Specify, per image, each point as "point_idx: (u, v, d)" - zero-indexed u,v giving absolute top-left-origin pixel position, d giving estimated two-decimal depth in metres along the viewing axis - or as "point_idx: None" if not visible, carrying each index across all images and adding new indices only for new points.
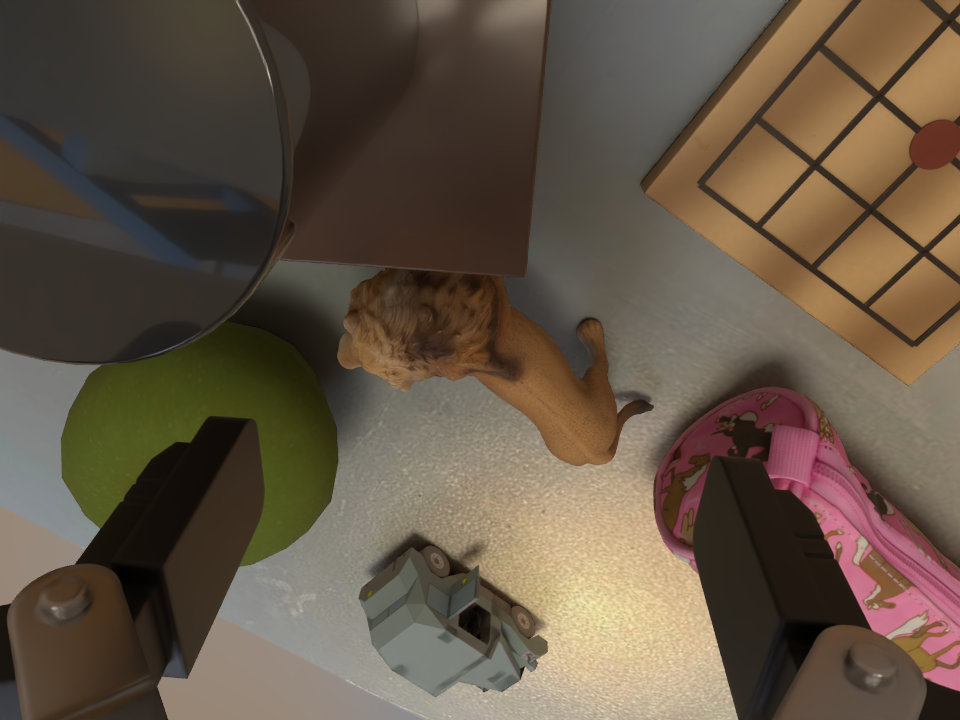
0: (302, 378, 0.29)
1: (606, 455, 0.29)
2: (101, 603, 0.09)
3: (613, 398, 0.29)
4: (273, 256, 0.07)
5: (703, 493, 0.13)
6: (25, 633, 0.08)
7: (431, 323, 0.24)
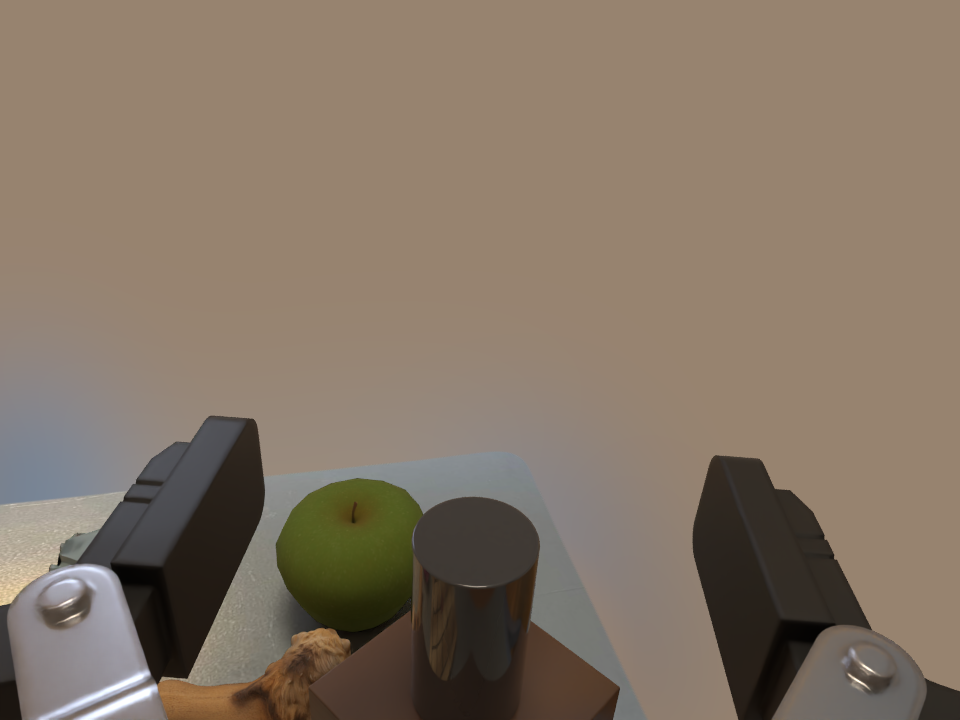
0: (339, 612, 0.47)
1: None
2: (101, 603, 0.09)
3: None
4: (414, 554, 0.28)
5: (703, 493, 0.13)
6: (25, 633, 0.08)
7: (308, 674, 0.40)
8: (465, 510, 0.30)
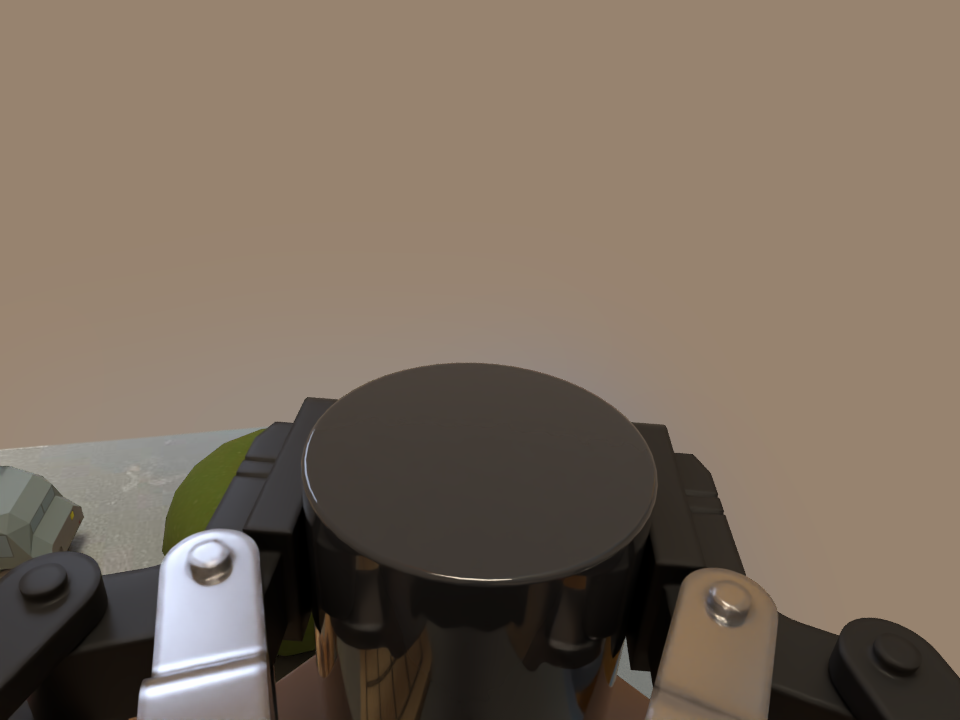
0: None
1: None
2: (244, 564, 0.09)
3: None
4: (303, 486, 0.10)
5: None
6: (172, 584, 0.09)
7: None
8: (454, 389, 0.12)
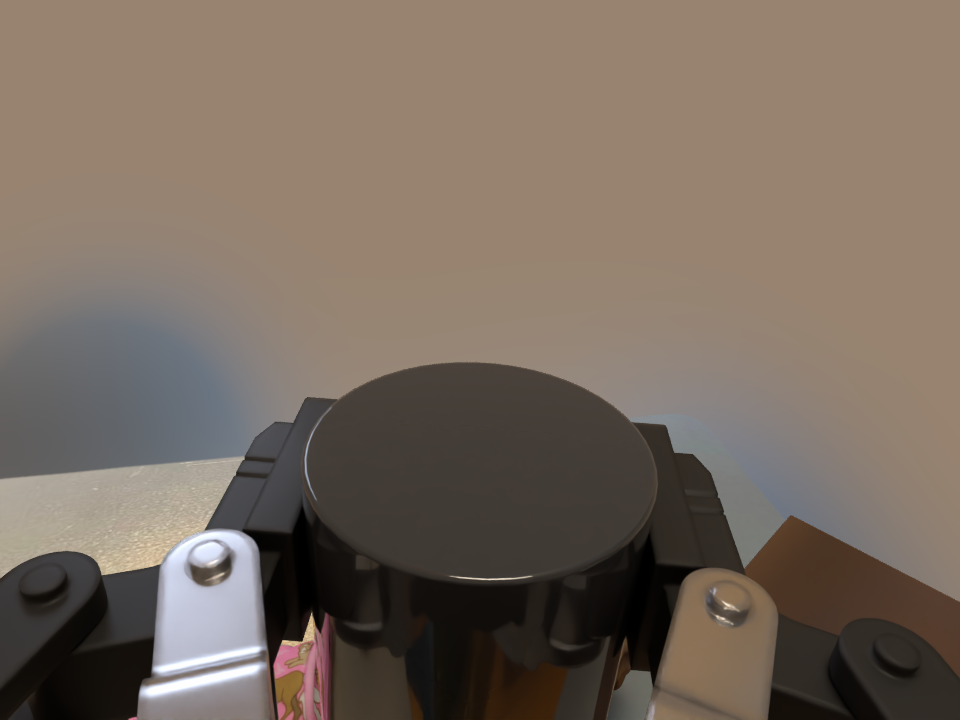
0: None
1: None
2: (243, 564, 0.09)
3: None
4: (303, 485, 0.10)
5: None
6: (172, 584, 0.09)
7: None
8: (454, 388, 0.12)
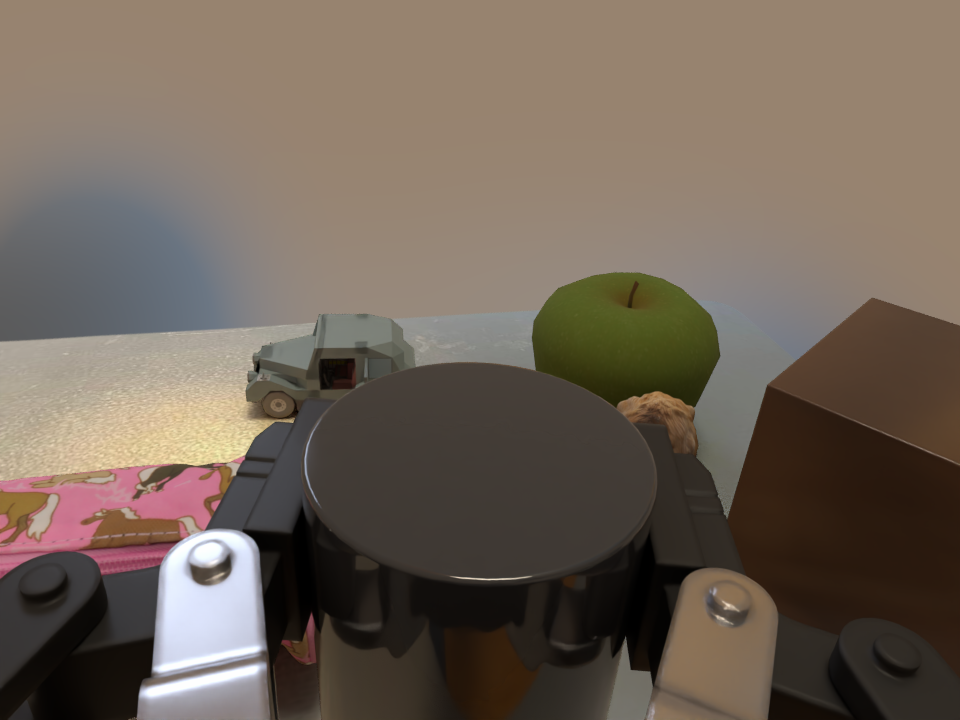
0: None
1: None
2: (243, 564, 0.09)
3: None
4: (303, 486, 0.10)
5: None
6: (172, 584, 0.09)
7: None
8: (453, 388, 0.12)
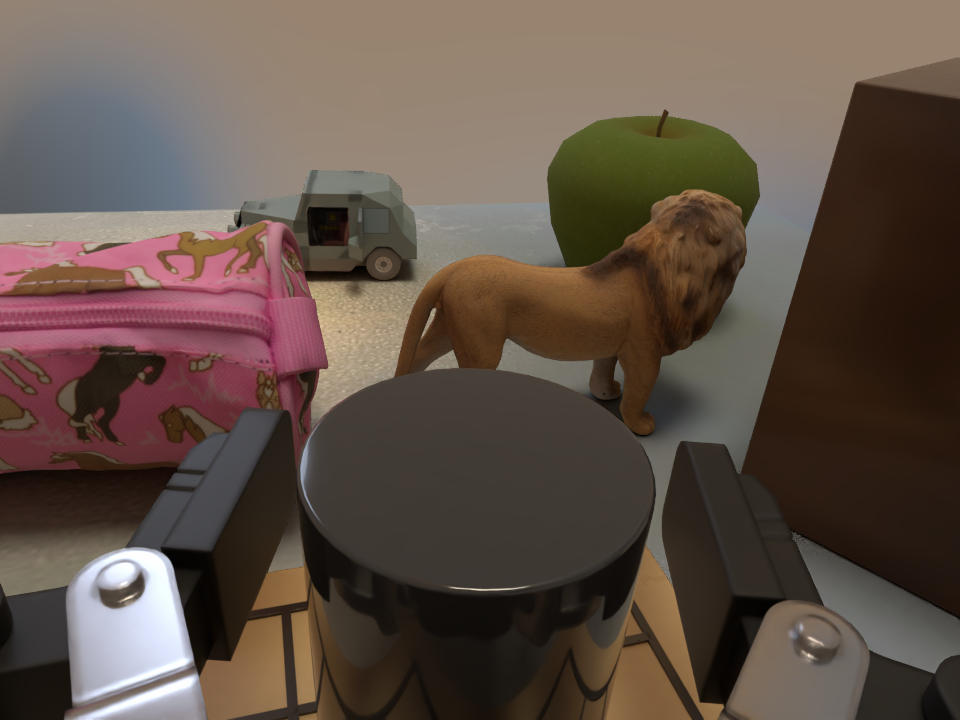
0: None
1: (443, 276, 0.26)
2: (155, 585, 0.09)
3: (471, 334, 0.26)
4: (298, 494, 0.10)
5: (671, 479, 0.13)
6: (81, 611, 0.09)
7: (707, 228, 0.26)
8: (451, 395, 0.12)
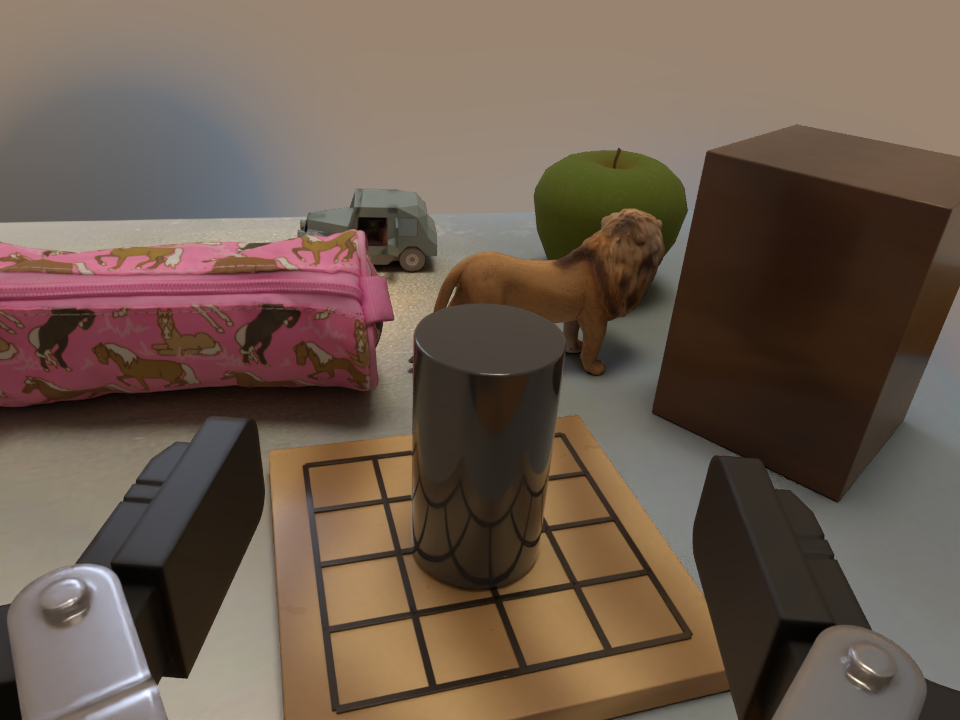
0: None
1: (462, 266, 0.40)
2: (101, 603, 0.09)
3: None
4: (416, 347, 0.23)
5: (703, 493, 0.13)
6: (25, 633, 0.08)
7: (635, 234, 0.40)
8: (477, 313, 0.25)
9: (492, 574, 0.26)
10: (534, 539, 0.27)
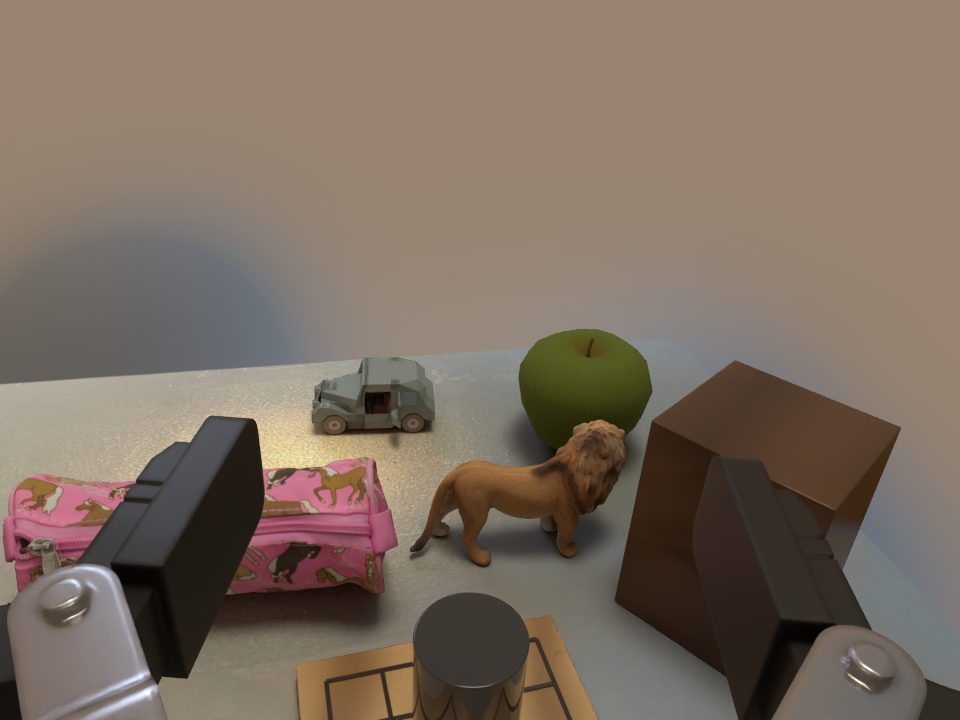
0: None
1: (454, 476, 0.47)
2: (101, 603, 0.09)
3: (470, 509, 0.47)
4: (415, 653, 0.31)
5: (703, 493, 0.13)
6: (25, 633, 0.08)
7: (600, 450, 0.47)
8: (462, 607, 0.33)
9: None
10: None
